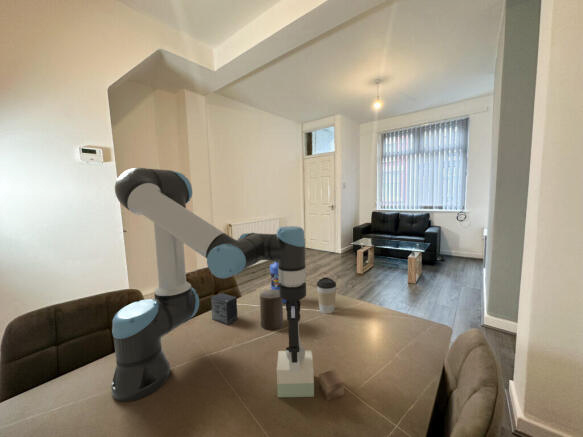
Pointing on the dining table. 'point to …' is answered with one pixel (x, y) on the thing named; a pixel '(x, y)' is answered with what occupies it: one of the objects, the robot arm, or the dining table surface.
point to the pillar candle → (271, 309)
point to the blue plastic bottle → (275, 277)
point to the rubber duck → (302, 352)
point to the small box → (224, 308)
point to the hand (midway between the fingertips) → (294, 354)
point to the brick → (331, 384)
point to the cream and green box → (295, 377)
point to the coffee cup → (326, 294)
